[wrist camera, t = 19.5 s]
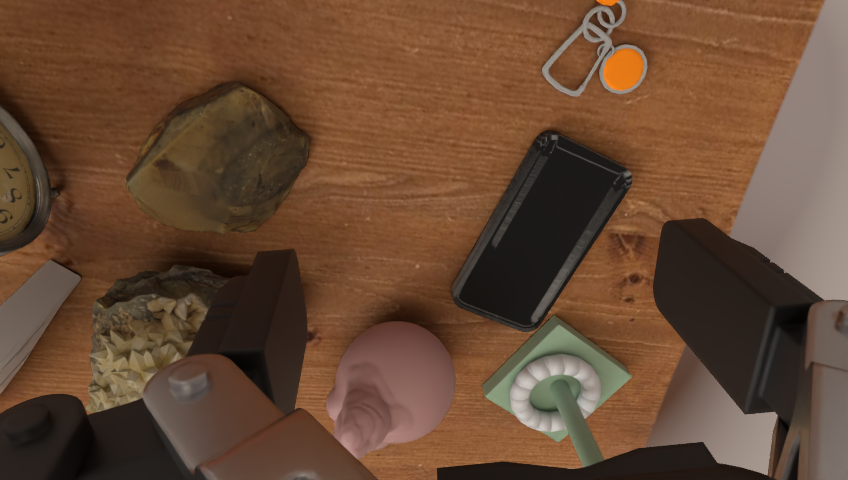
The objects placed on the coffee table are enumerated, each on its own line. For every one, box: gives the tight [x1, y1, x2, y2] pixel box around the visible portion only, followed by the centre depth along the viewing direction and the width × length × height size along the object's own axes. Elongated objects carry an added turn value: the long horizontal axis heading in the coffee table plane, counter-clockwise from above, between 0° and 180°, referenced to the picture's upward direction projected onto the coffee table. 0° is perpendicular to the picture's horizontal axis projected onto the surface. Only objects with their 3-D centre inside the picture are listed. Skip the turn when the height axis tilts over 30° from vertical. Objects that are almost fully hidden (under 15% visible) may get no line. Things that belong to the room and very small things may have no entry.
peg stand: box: [482, 315, 632, 467], centre depth 44 cm, size 9×9×12 cm
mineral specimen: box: [86, 265, 232, 412], centre depth 40 cm, size 14×13×10 cm
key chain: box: [542, 0, 647, 97], centre depth 36 cm, size 13×7×1 cm, turn 146°
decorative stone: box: [126, 82, 310, 234], centre depth 37 cm, size 10×9×4 cm
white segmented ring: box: [510, 354, 601, 432], centre depth 47 cm, size 8×8×2 cm
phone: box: [451, 131, 632, 332], centre depth 43 cm, size 8×1×15 cm
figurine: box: [326, 321, 455, 459], centre depth 41 cm, size 9×11×12 cm
